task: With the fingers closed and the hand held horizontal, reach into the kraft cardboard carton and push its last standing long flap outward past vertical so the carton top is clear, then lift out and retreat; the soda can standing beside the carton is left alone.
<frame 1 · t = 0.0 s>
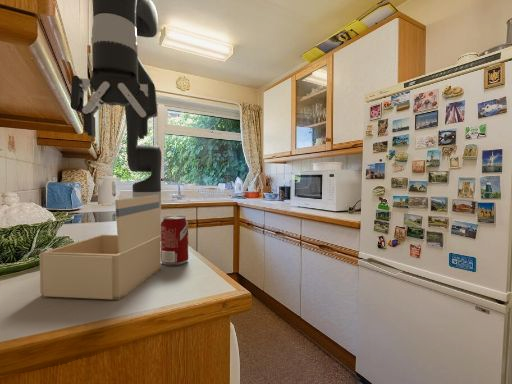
hand: (117, 137, 51), 29 cm above the counter, tool pointing down, fingers open, 8 cm apart
carton: (109, 281, 57), on the counter
soda can: (174, 263, 70), on the counter
flap: (141, 220, 56), point 13 cm above the counter, hinge at -3.0°
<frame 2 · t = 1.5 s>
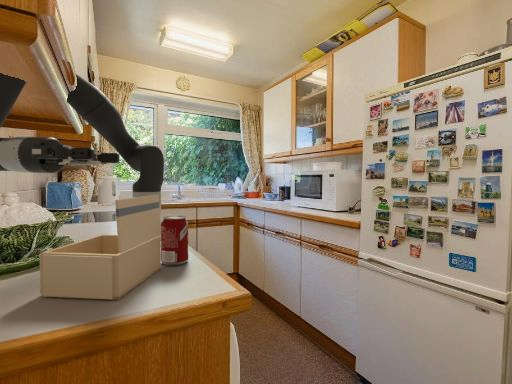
hand: (106, 156, 56), 26 cm above the counter, tool horizontal, fingers open, 8 cm apart
nothing on the counter moved.
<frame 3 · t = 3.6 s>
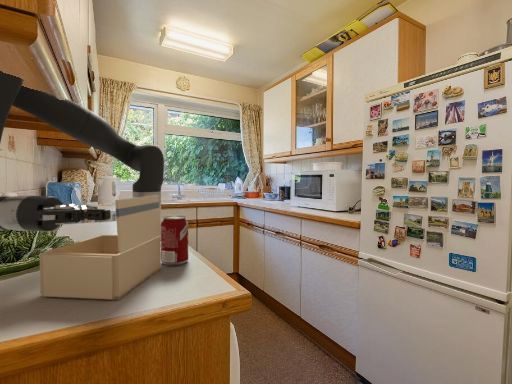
hand: (108, 214, 57), 14 cm above the counter, tool horizontal, fingers closed
nothing on the counter moved.
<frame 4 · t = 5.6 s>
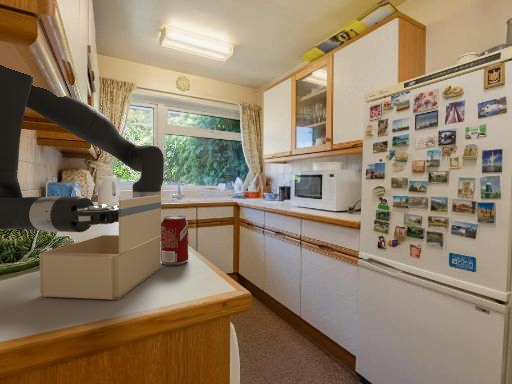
hand: (141, 215, 56), 14 cm above the counter, tool horizontal, fingers closed
flap: (142, 220, 56), point 13 cm above the counter, hinge at 0.7°, touching gripper
everything else where it was.
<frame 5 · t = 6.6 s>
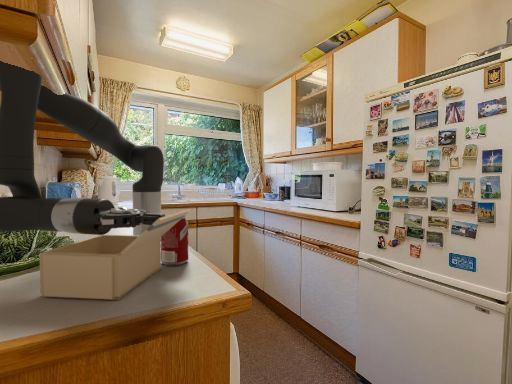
hand: (163, 219, 55), 13 cm above the counter, tool horizontal, fingers closed
flap: (160, 228, 56), point 11 cm above the counter, hinge at 48.5°, touching gripper
everything else where it was.
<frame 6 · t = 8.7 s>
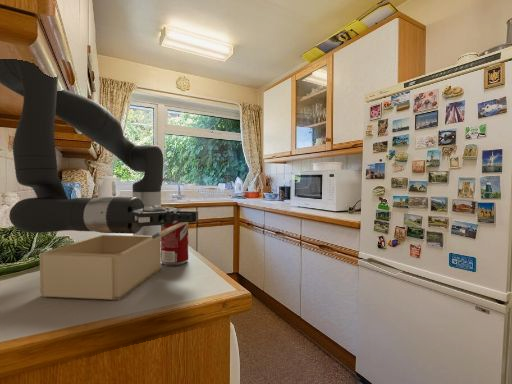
hand: (197, 216, 55), 14 cm above the counter, tool horizontal, fingers closed
flap: (163, 233, 56), point 10 cm above the counter, hinge at 61.5°
everything else where it was.
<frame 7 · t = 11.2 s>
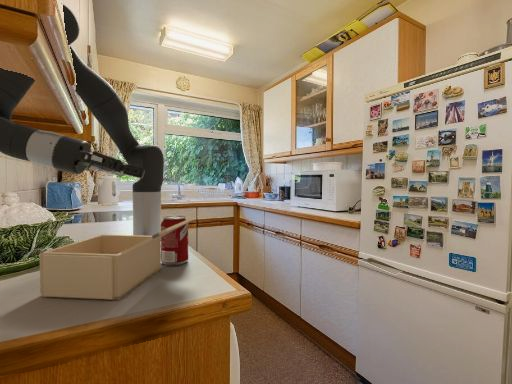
hand: (143, 174, 62), 23 cm above the counter, tool horizontal, fingers closed
nothing on the counter moved.
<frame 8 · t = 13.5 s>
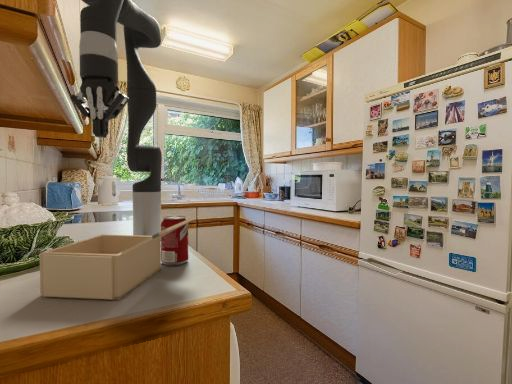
hand: (100, 137, 62), 31 cm above the counter, tool pointing down, fingers closed
nothing on the counter moved.
at the end: flap at +62° (first picture: -3°); soda can moved 0.2 cm from its start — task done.
